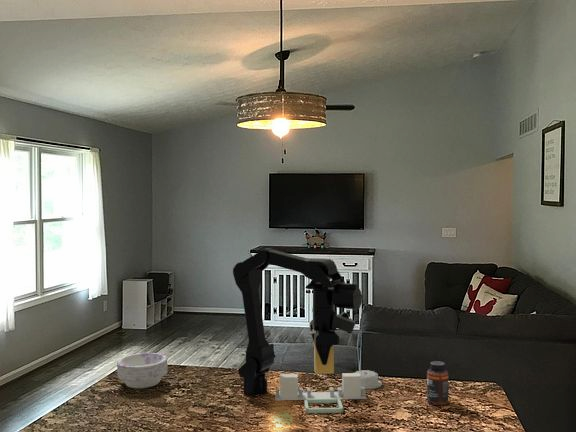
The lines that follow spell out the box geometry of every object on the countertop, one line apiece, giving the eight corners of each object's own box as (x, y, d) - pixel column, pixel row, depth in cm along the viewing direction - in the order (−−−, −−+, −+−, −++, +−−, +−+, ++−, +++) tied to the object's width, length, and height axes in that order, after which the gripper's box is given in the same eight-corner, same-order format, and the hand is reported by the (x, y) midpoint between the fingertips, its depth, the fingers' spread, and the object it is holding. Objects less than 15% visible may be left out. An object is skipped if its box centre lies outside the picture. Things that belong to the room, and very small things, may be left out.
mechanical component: (383, 393, 175) (381, 382, 185) (383, 378, 175) (381, 368, 185) (349, 392, 176) (349, 381, 186) (349, 377, 176) (349, 367, 186)
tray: (306, 416, 157) (306, 409, 156) (304, 405, 165) (304, 398, 164) (343, 416, 157) (343, 408, 157) (339, 405, 165) (339, 398, 165)
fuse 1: (280, 398, 168) (280, 377, 167) (280, 394, 171) (280, 374, 170) (298, 397, 168) (298, 377, 168) (297, 394, 171) (297, 373, 171)
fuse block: (275, 403, 166) (275, 393, 166) (275, 396, 172) (274, 386, 172) (366, 402, 167) (366, 391, 167) (363, 394, 173) (363, 384, 173)
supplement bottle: (450, 400, 168) (450, 361, 168) (446, 407, 163) (446, 367, 163) (429, 397, 171) (429, 359, 170) (424, 404, 166) (425, 364, 165)
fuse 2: (343, 397, 168) (343, 376, 168) (342, 393, 171) (342, 373, 171) (360, 396, 169) (360, 376, 168) (359, 393, 172) (359, 373, 171)
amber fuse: (315, 373, 159) (315, 344, 159) (314, 370, 162) (314, 341, 162) (333, 373, 159) (333, 344, 159) (332, 370, 162) (332, 341, 162)
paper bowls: (107, 389, 179) (106, 363, 178) (134, 374, 193) (134, 350, 193) (151, 394, 174) (151, 367, 174) (176, 378, 189) (176, 354, 188)
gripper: (358, 312, 151) (358, 372, 152) (347, 299, 170) (347, 353, 170) (315, 313, 151) (315, 373, 151) (309, 300, 169) (309, 353, 170)
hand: (323, 362), depth 161 cm, fingers closed on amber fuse, 3 cm apart
